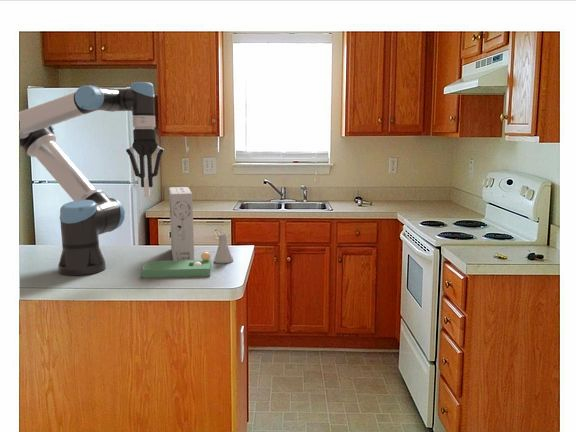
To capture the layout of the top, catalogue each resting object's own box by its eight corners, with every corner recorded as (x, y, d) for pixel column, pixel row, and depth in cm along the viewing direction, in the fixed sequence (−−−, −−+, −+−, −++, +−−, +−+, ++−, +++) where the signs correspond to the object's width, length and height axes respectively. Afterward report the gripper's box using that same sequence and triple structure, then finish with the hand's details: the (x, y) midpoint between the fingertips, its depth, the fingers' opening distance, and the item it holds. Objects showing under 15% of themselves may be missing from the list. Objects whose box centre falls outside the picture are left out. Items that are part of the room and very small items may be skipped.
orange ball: (201, 262, 182) (200, 253, 181) (201, 259, 185) (201, 250, 184) (210, 261, 182) (210, 252, 182) (210, 259, 185) (210, 250, 185)
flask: (209, 262, 191) (209, 235, 189) (219, 258, 197) (218, 232, 196) (228, 264, 188) (227, 237, 187) (236, 259, 195) (236, 233, 193)
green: (141, 277, 172) (141, 270, 171) (147, 268, 183) (147, 261, 183) (209, 275, 174) (209, 268, 173) (211, 266, 186) (211, 259, 185)
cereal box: (194, 260, 194) (192, 193, 190) (173, 262, 192) (170, 193, 188) (190, 248, 214) (188, 186, 210) (171, 249, 213) (168, 187, 208)
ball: (190, 268, 177) (196, 261, 177) (191, 265, 180) (197, 258, 180) (198, 274, 178) (204, 267, 177) (198, 271, 181) (204, 264, 181)
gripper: (122, 128, 177) (126, 198, 181) (162, 128, 178) (164, 197, 182) (127, 128, 184) (130, 195, 188) (165, 128, 186) (167, 194, 190)
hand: (147, 196), depth 185 cm, fingers closed
